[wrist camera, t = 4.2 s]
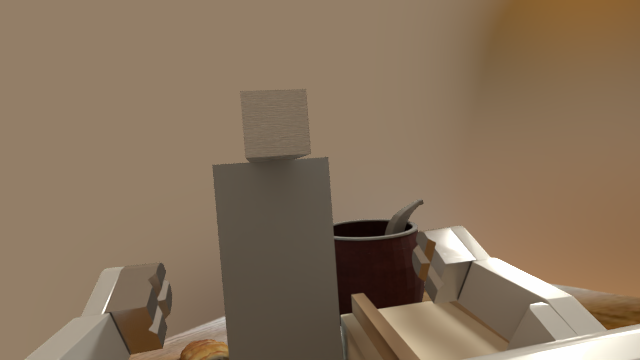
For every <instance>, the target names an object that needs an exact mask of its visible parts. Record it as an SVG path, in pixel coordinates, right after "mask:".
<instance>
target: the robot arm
mask: <svg viewBox="0 0 640 360" xmlns="http://www.w3.org/2000/svg"><path fill="white" fill-rule="evenodd" d="M416 242H417V243H418V246H417V247H416V248H415V249H414V250H413V254H412V263H413V267H414V270H415V272H416V274H417V276H418V277H419V278H420V279H422V280H424V281H425V286H424V288H425V290H426V292H427V293H428V295H429V297H430V298H431V300H432V302H433V304H437V303H444V302H452V301H458V303H460V304H461V305H462V306H464V307H465V308H466V309H467V310H469V311H470V312H471V313H473V314H474V315H475V316H477V317H478V318H479V319H481V320H482V321H483V322H485V323H486V324H487V325H489V326H490V327H491V328H492V329H494V330H495V331H496V332H498V333H499V334H500V335H502V336H503V337H504V338H506V339H507V340H508V341H510V342H509V344H508V346H507V348H506V350H505V351H502V352H497V353H492V354H488V355H483V356H478V357H473V358H468V359H463V360H640V324H637V325H632V326H627V327H622V328H617V329H612V330H606V329H605V328H604V327H603V326H602V325H601V324H600V323H599V322H598V321H597V320H596V319H595V318H594V317H593V316H592V315H591V314H590V313H589V312H588V311H587V310H586V309H585V308H584V307H583V306H582V305H581V304H580V303H579V302H578V301H577V300H576V299H575V298H574V297H573V296H571V295H569V294H567V293H565V292H563V291H561V290H559V289H557V288H555V287H553V286H551V285H549V284H547V283H545V282H543V281H541V280H539V279H537V278H535V277H533V276H531V275H529V274H527V273H525V272H523V271H521V270H519V269H517V268H515V267H513V266H511V265H509V264H507V263H505V262H503V261H501V260H499V259H497V258H491V257H490V256H489V255H488V254H487V253H486V252H485V251H484V249H483V248H482V247H481V246H480V245H479V244H478V243H477V242H476V240H475V239H474V238H473V237H472V236H471V235H470V233H469V232H468V231H467V230H466V229H465V228H464V227H462V226H454V227H447V228H439V229H432V230H425V231H419V232H418V234H417V236H416ZM165 273H166V270H165V268H164V265H163V264H162V263H153V264H142V265H133V266H125V267H116V268H106V269H105V270H104V271H103V272H102V273H101V274H100V277H99V279H98V281H97V283H96V285H95V287H94V290H93V292H92V294H91V296H90V298H89V300H88V302H87V304H86V306H85V309H84V311H83V313H82V315H81V317H78V318H74V319H73V320H72V321H70V322H69V323H68V324H67V325H65V326H64V327H63V328H62V329H61V330H59V331H58V332H57V333H56V334H55V335H53V336H52V337H51V338H50V339H49V340H47V341H46V342H45V343H44V344H43V345H41V346H40V347H39V348H38V349H37V350H35V351H34V352H33V353H32V354H30V355H29V356H28V357H27V358H26V359H24V360H128V359H129V358H130V355H131V354H137V353H142V352H147V351H152V350H157V349H163V345H164V340H165V335H166V330H167V325H166V322H165V318H166V317H167V316H168V315H169V314H170V311H171V306H172V292H171V286H170V284H169V282H168V281H167V280H165V279H164V277H165Z"/></svg>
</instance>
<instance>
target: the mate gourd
mask: <svg viewBox="0 0 640 360" xmlns="http://www.w3.org/2000/svg"><path fill="white" fill-rule="evenodd" d="M422 204H423V200H422V199H419V200H417V201H415V202H412V203H411V204H409V205H407V206H406V207H404V208H403V209H401V210H400V211H398V212H397V213H396V214H395V215H394V216H393V217H392V219H363V220H351V221H344V222H338V223H333V232H334V246H335V260H336V274H337V287H338V301H339V315H344V314H350V313H353V312H352V298H351V295H353V294H360V293H364V294H365V296H366V297H367V298H368V299H369V300H370V301H371V303H372V304H373V305H374V306H375V307H376V308H377V309H382V308H389V307H395V306H402V305H408V304H415V303H421V302H422V298H423V293H424V284H425V281H424V280H422V279H420V278H419V277H418V276H417V274H416V272H415V270H414V267H413V263H412V254H413V250H414V249H415V248H416V247H417V246H418V243H417V242H416V236H417V234H418V230H417V229H418V226H417V225H416V224H415V223H412V222H409V221H408V219H409V217H410V215H411V214H412V212H413V211H414V210H415V209H416V208H417V207H418V206H419V205H422ZM340 326H341V316H340ZM341 343H342V336H341ZM342 357H343V343H342ZM343 360H344V357H343Z"/></svg>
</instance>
